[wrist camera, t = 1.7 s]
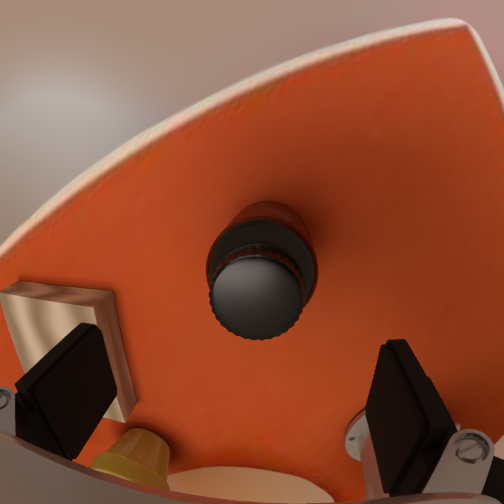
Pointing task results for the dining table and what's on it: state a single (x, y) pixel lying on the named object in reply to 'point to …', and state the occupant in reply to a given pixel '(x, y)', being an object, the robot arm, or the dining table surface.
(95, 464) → the plant pot
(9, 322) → the beech block
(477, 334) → the dining table surface
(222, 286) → the supplement bottle
